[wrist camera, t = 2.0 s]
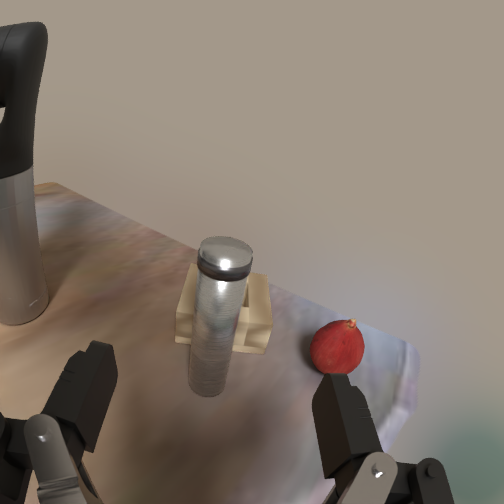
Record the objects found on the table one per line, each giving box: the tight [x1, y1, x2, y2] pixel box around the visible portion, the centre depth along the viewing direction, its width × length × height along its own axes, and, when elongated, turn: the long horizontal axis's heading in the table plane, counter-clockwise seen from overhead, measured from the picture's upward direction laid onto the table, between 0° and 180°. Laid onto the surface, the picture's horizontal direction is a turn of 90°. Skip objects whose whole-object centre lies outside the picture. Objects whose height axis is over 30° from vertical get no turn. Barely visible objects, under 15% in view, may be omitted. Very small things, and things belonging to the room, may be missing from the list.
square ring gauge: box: [175, 263, 273, 354], centre depth 35 cm, size 10×10×4 cm
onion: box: [310, 319, 365, 374], centre depth 29 cm, size 6×6×8 cm
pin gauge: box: [189, 236, 253, 397], centre depth 24 cm, size 4×4×15 cm
